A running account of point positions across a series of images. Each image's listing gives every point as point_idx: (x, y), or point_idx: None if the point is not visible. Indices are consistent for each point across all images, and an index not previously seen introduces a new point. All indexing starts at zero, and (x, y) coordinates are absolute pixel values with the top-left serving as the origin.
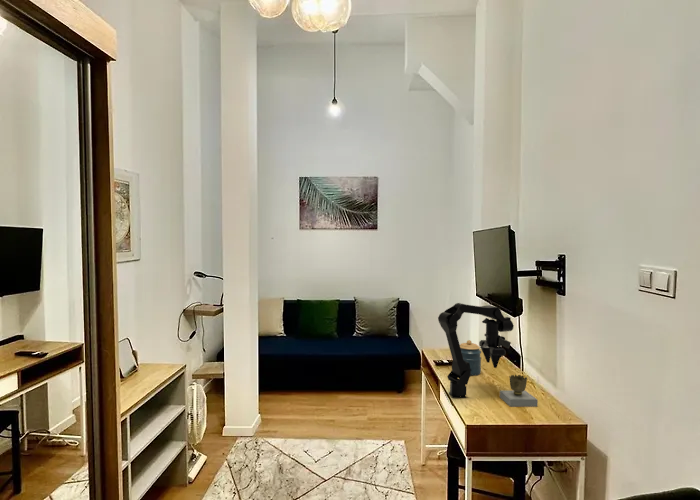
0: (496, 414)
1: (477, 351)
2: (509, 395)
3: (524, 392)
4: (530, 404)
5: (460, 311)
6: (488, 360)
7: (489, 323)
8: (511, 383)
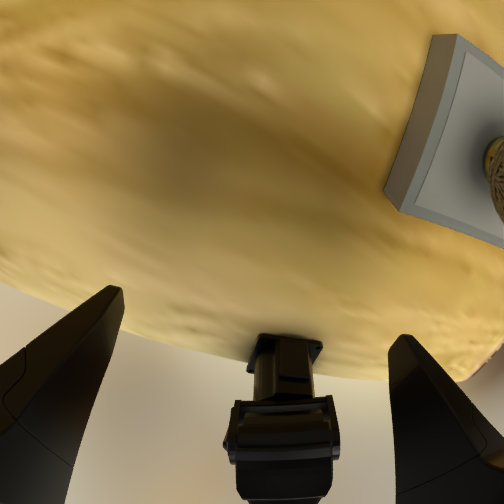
0: (486, 313)
1: None
2: (482, 217)
3: (488, 83)
4: None
5: None
6: (112, 323)
7: None
8: None
